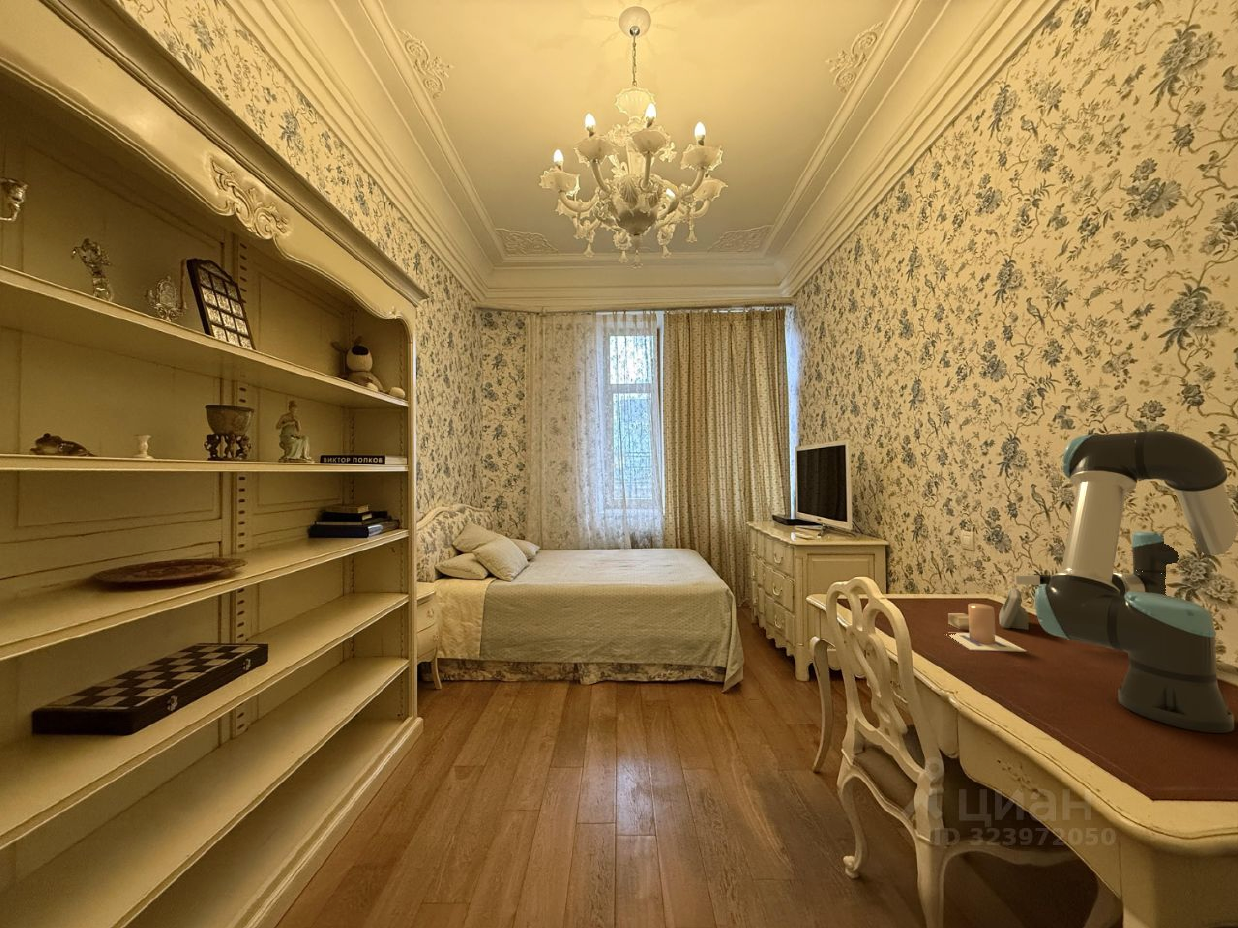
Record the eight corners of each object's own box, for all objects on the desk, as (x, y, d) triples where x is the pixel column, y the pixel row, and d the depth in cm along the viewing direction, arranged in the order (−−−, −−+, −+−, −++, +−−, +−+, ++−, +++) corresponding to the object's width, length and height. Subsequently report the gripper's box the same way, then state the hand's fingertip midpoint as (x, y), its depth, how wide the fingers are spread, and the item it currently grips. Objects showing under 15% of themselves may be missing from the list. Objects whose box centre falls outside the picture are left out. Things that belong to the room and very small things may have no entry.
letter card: (1026, 651, 128) (1026, 650, 128) (971, 650, 130) (971, 649, 130) (992, 634, 142) (992, 633, 142) (942, 633, 144) (942, 632, 144)
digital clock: (1000, 616, 160) (999, 585, 160) (1035, 622, 153) (1034, 589, 153) (988, 626, 149) (987, 593, 150) (1025, 633, 143) (1024, 598, 143)
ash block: (975, 630, 146) (974, 617, 146) (959, 630, 146) (958, 617, 146) (964, 625, 151) (963, 612, 151) (948, 625, 151) (947, 613, 151)
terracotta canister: (1000, 644, 133) (999, 609, 133) (977, 644, 133) (976, 609, 134) (986, 637, 139) (985, 603, 139) (965, 637, 139) (963, 603, 140)
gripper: (1160, 612, 119) (1068, 609, 122) (1077, 589, 144) (1002, 587, 147) (1159, 582, 119) (1067, 580, 122) (1076, 565, 144) (1001, 563, 147)
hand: (1032, 584), depth 134 cm, fingers open, 13 cm apart
